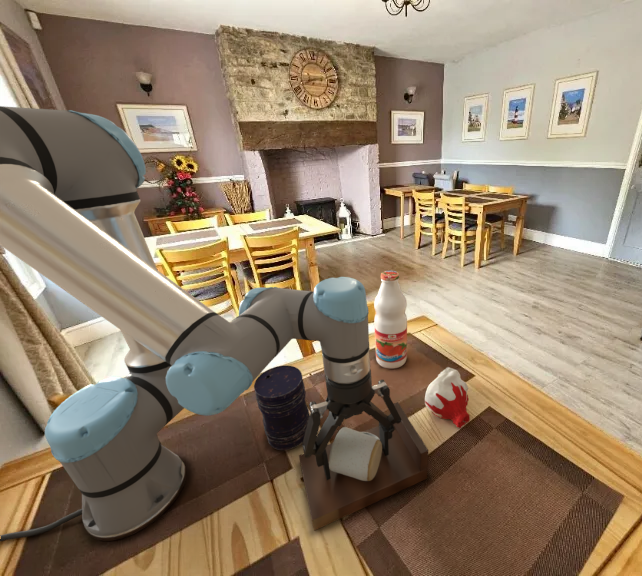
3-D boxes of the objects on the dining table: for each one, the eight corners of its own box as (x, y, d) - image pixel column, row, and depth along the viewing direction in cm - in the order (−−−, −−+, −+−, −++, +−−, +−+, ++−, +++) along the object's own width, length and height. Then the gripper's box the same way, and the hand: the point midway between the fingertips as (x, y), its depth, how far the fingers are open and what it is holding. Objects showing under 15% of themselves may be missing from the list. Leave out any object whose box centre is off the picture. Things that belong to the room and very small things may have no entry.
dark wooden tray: (314, 530, 52) (307, 501, 49) (300, 465, 63) (295, 437, 60) (427, 478, 60) (428, 450, 57) (398, 428, 71) (397, 401, 68)
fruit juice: (406, 350, 98) (407, 267, 86) (407, 369, 89) (408, 280, 78) (376, 349, 98) (373, 267, 87) (374, 369, 90) (370, 280, 78)
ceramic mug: (371, 493, 54) (370, 462, 51) (329, 480, 57) (325, 450, 53) (388, 442, 64) (388, 415, 60) (351, 433, 66) (349, 406, 63)
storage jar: (320, 422, 73) (312, 372, 67) (292, 457, 65) (280, 403, 59) (286, 409, 77) (276, 360, 71) (257, 440, 69) (242, 389, 63)
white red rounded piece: (449, 382, 83) (484, 429, 72) (411, 394, 80) (442, 446, 68) (454, 357, 79) (492, 403, 67) (414, 368, 75) (447, 420, 63)
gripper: (275, 409, 43) (298, 506, 53) (422, 364, 51) (419, 454, 61) (271, 376, 50) (291, 467, 59) (402, 340, 58) (402, 425, 67)
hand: (356, 461), depth 60 cm, fingers closed on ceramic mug, 11 cm apart
